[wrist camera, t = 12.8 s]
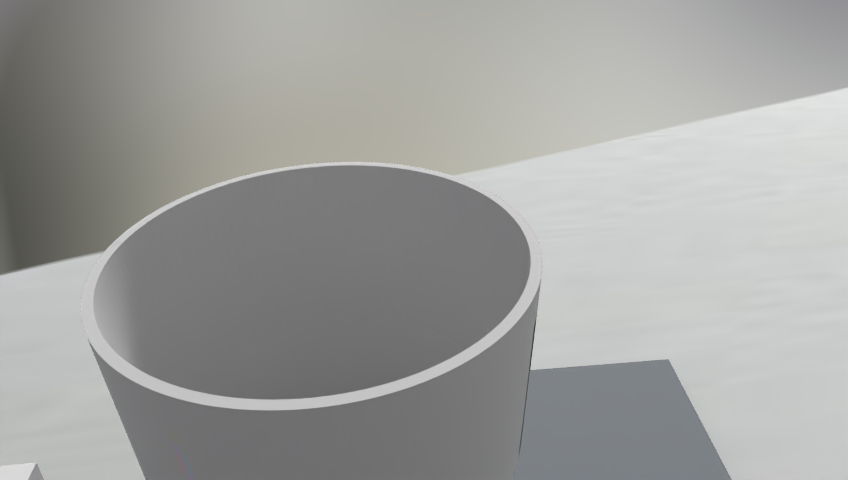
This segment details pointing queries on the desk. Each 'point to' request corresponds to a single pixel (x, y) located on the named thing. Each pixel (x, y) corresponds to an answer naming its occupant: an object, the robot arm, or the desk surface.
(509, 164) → the desk surface
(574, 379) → the mat
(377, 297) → the cup
